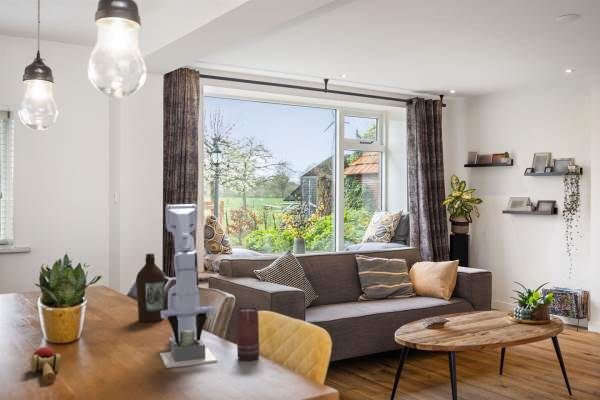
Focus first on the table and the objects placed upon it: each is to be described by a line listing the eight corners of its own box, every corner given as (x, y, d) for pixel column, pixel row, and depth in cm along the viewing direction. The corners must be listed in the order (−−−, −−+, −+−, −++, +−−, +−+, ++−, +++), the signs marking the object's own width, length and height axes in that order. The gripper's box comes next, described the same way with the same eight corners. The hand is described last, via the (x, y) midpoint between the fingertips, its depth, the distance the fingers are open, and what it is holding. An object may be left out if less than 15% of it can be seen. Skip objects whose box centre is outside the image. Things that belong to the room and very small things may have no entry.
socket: (160, 355, 175) (159, 340, 175) (207, 350, 179) (207, 335, 179) (166, 367, 161) (166, 351, 161) (217, 362, 166) (216, 346, 166)
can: (239, 362, 165) (238, 312, 165) (236, 356, 172) (235, 308, 171) (261, 360, 167) (260, 310, 167) (256, 354, 173) (255, 306, 173)
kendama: (69, 385, 152) (59, 359, 168) (64, 363, 151) (55, 339, 167) (36, 396, 149) (30, 368, 164) (31, 373, 147) (25, 347, 163)
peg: (179, 355, 171) (179, 330, 172) (193, 354, 173) (193, 329, 173) (181, 358, 168) (181, 333, 168) (195, 357, 169) (195, 332, 169)
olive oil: (132, 319, 227) (131, 253, 226) (159, 315, 233) (157, 251, 233) (143, 324, 218) (141, 255, 218) (170, 320, 224) (168, 253, 224)
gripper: (162, 297, 164) (163, 346, 164) (214, 293, 169) (215, 341, 169) (159, 293, 171) (160, 341, 171) (209, 290, 176) (210, 336, 176)
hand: (187, 341), depth 170 cm, fingers open, 5 cm apart
